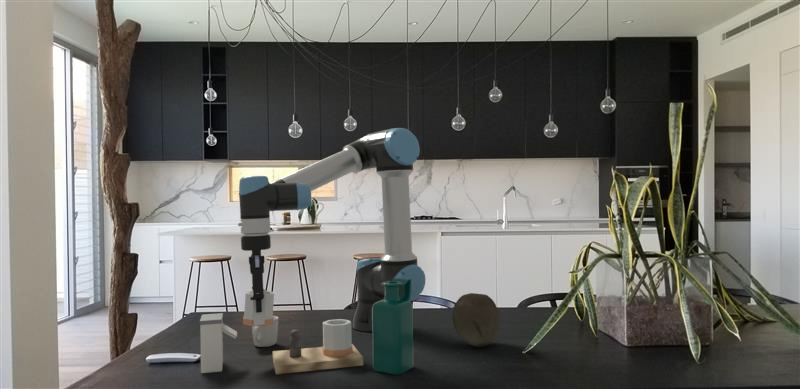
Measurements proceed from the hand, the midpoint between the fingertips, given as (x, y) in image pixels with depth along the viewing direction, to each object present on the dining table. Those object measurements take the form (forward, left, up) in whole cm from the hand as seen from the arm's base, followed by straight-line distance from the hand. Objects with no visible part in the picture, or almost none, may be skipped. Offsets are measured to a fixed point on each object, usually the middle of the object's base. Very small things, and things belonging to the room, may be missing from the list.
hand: (258, 320), depth 145 cm
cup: (-2, -17, -11) cm, 20 cm away
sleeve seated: (-20, +4, -9) cm, 22 cm away
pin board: (-15, +4, -11) cm, 19 cm away
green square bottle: (-33, +16, -11) cm, 38 cm away
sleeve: (0, 0, -1) cm, 1 cm away
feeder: (+9, 0, -11) cm, 15 cm away
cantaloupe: (-61, +3, -11) cm, 62 cm away
